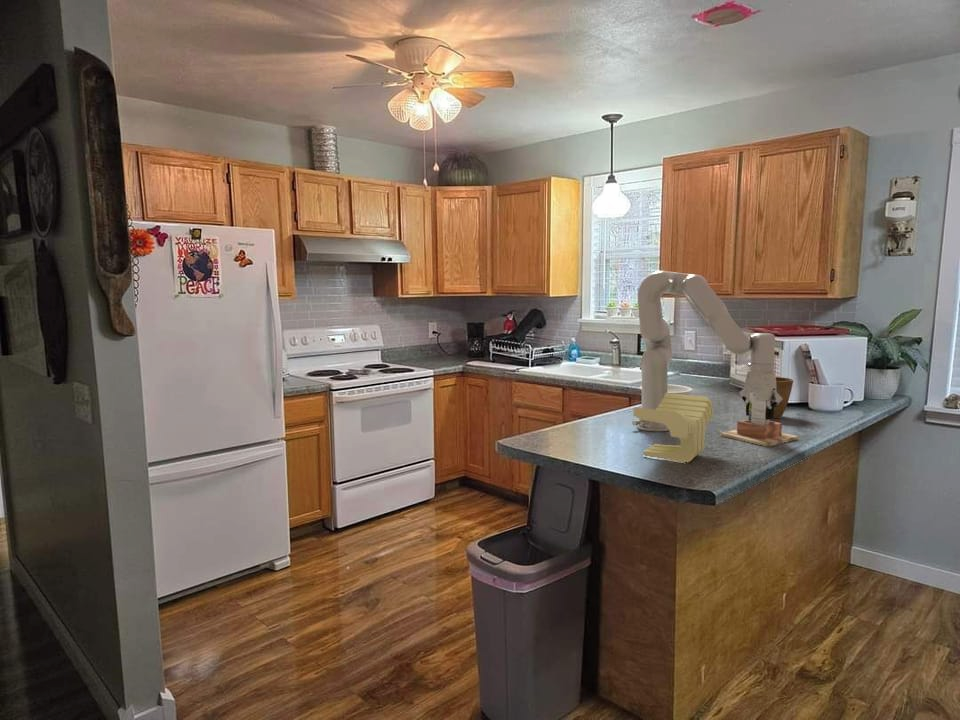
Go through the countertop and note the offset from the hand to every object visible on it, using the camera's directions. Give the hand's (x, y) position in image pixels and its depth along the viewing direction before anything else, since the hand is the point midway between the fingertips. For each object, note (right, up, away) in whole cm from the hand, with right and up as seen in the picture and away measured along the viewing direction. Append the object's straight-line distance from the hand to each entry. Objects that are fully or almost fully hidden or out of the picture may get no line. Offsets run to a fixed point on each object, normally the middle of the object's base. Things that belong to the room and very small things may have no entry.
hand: (759, 416), depth 216 cm
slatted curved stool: (-38, -11, -22) cm, 45 cm away
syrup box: (0, -6, +1) cm, 5 cm away
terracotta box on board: (0, -8, +1) cm, 8 cm away
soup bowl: (-12, 0, +70) cm, 71 cm away
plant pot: (+21, -3, +35) cm, 41 cm away
